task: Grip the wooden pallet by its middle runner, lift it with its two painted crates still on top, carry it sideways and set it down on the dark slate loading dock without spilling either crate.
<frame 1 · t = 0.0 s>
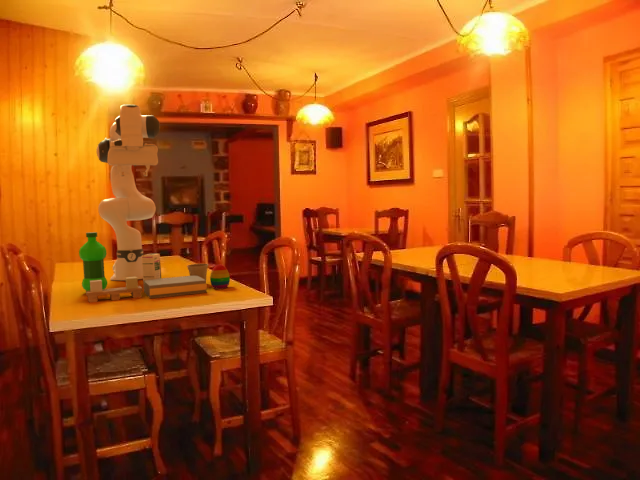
hand: (134, 176, 229), 48 cm above the table, tool pointing down, fingers open, 8 cm apart
plastic bottle: (95, 292, 225), on the table
pallet: (115, 298, 210), on the table, touching crate a, crate b
decorative egg: (220, 288, 229), on the table
dock: (174, 292, 220), on the table
crate b: (131, 287, 213), point 4 cm above the table, touching pallet
syrup box: (152, 287, 234), on the table
crate a: (96, 291, 207), point 4 cm above the table, touching pallet
flower pot: (198, 284, 238), on the table
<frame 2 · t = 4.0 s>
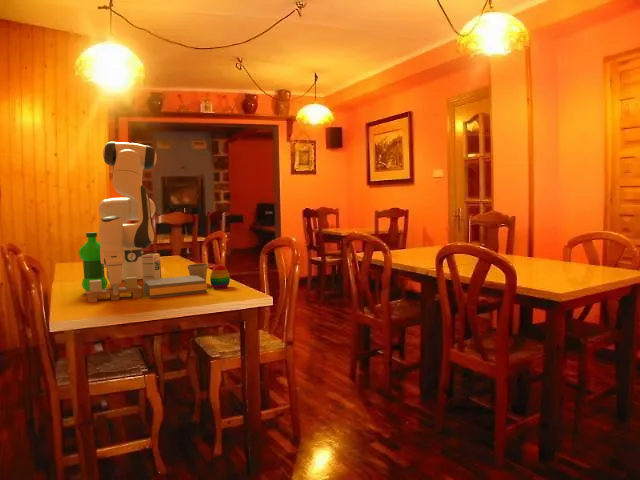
hand: (114, 293, 210), 2 cm above the table, tool pointing down, fingers closed on pallet, 6 cm apart
pallet: (114, 298, 210), on the table, touching crate a, crate b, gripper
everything else where it was.
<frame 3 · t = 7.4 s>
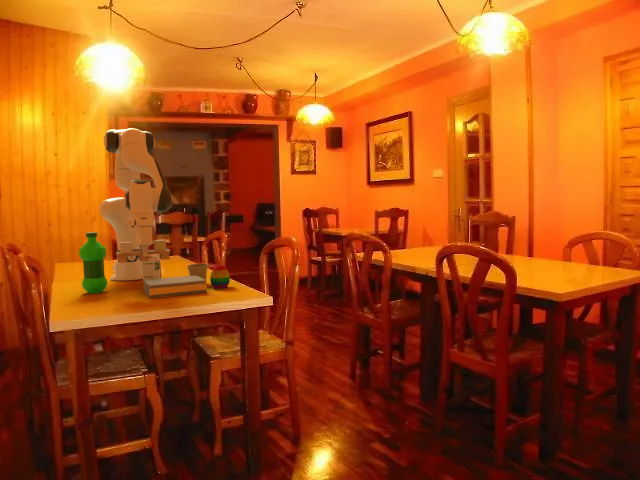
hand: (144, 255, 214), 16 cm above the table, tool pointing down, fingers closed on pallet, 6 cm apart
pallet: (143, 260, 214), point 14 cm above the table, touching crate a, crate b, gripper
crate b: (160, 250, 217), point 18 cm above the table, touching pallet
crate a: (126, 252, 211), point 18 cm above the table, touching pallet
everything else where it was.
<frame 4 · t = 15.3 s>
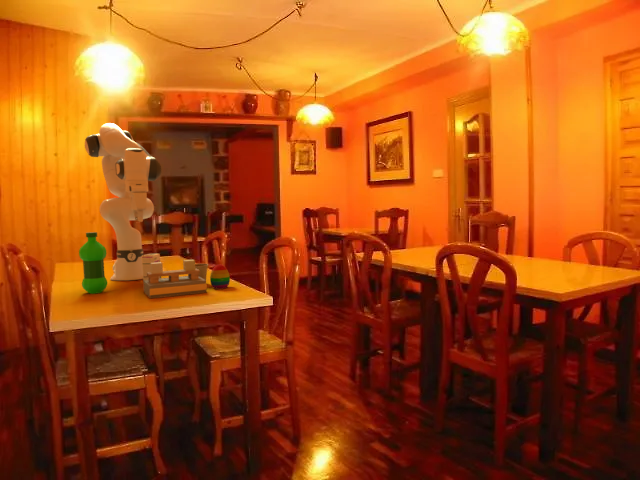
hand: (138, 221, 224), 29 cm above the table, tool pointing down, fingers open, 8 cm apart
pallet: (173, 280, 220), point 5 cm above the table, touching crate a, crate b, dock
crate b: (189, 270, 222), point 9 cm above the table, touching pallet
crate a: (156, 272, 217), point 9 cm above the table, touching pallet
everything else where it was.
at the end: pallet inside the target area on the dock (0.2 cm from its centre), point 5.0 cm above the dock's base; crate a inside the target area on the pallet (6.5 cm from its centre), point 3.6 cm above the pallet's base; crate b inside the target area on the pallet (6.5 cm from its centre), point 3.6 cm above the pallet's base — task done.
